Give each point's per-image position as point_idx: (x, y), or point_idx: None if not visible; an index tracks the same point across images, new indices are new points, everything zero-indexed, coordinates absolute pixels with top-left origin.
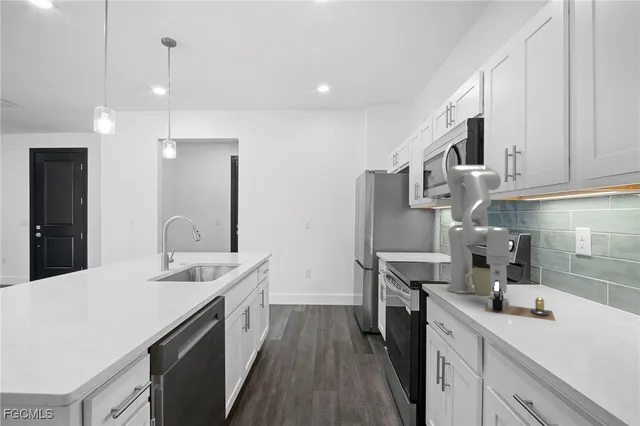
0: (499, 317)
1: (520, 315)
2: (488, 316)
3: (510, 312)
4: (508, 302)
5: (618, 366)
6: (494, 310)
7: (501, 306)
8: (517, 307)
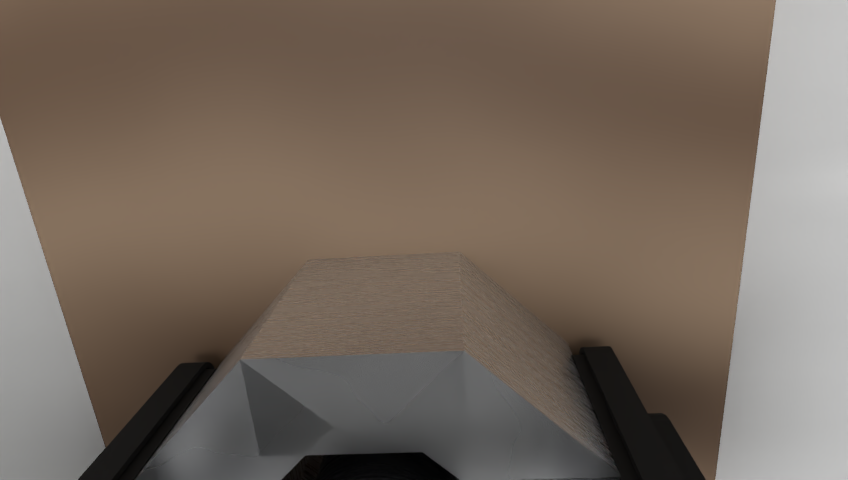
0: (756, 330)
1: (730, 11)
2: (769, 459)
3: (581, 208)
4: (366, 324)
5: None
6: None
7: (633, 406)
8: (79, 120)
